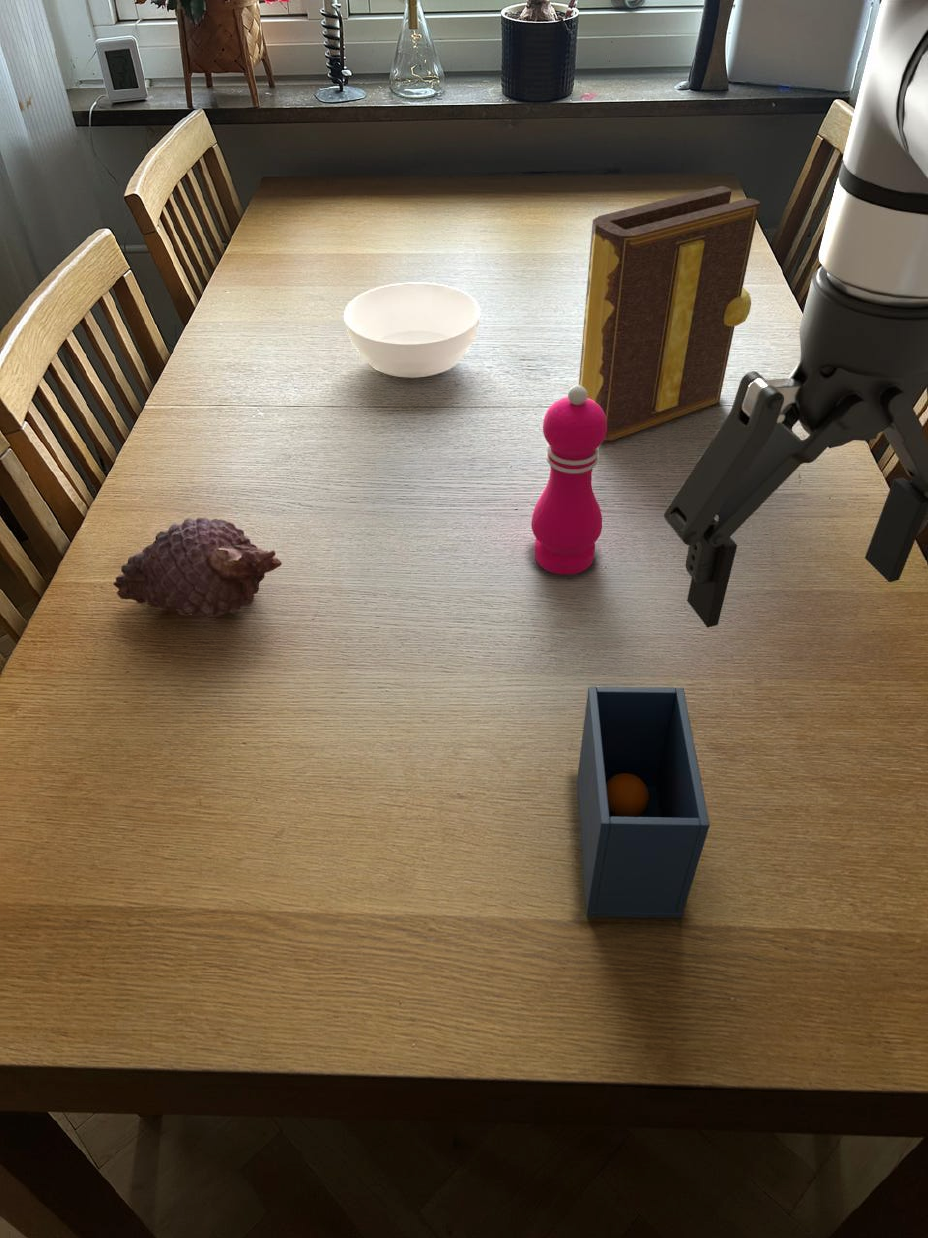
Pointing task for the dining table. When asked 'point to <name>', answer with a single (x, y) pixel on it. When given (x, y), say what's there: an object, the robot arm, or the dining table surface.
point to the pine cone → (197, 569)
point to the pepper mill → (570, 485)
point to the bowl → (412, 327)
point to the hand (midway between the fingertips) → (793, 590)
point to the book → (664, 306)
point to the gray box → (671, 823)
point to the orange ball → (626, 795)
